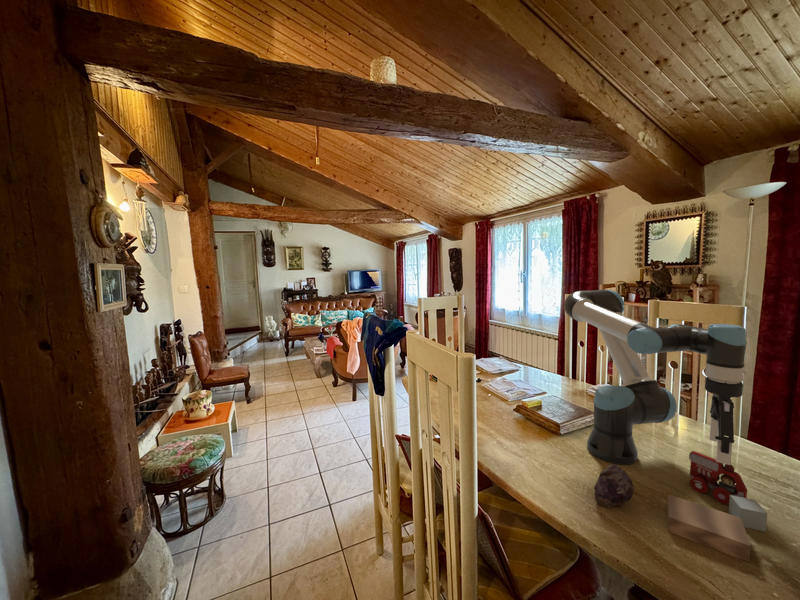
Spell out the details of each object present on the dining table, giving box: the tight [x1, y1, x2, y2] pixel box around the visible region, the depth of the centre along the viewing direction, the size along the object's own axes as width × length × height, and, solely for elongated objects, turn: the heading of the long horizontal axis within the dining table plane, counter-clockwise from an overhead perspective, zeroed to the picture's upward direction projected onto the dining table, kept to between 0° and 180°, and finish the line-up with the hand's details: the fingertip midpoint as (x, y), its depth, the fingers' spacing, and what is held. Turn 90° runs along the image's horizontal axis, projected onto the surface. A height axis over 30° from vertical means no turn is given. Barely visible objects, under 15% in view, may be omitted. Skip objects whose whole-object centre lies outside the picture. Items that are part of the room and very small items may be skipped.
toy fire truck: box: [688, 450, 748, 505], centre depth 93 cm, size 7×12×10 cm, turn 28°
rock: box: [593, 463, 635, 508], centre depth 92 cm, size 12×9×10 cm
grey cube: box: [728, 495, 768, 533], centre depth 83 cm, size 5×5×5 cm
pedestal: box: [666, 494, 751, 563], centre depth 80 cm, size 14×10×4 cm
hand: (719, 451), depth 92 cm, fingers open, 13 cm apart
